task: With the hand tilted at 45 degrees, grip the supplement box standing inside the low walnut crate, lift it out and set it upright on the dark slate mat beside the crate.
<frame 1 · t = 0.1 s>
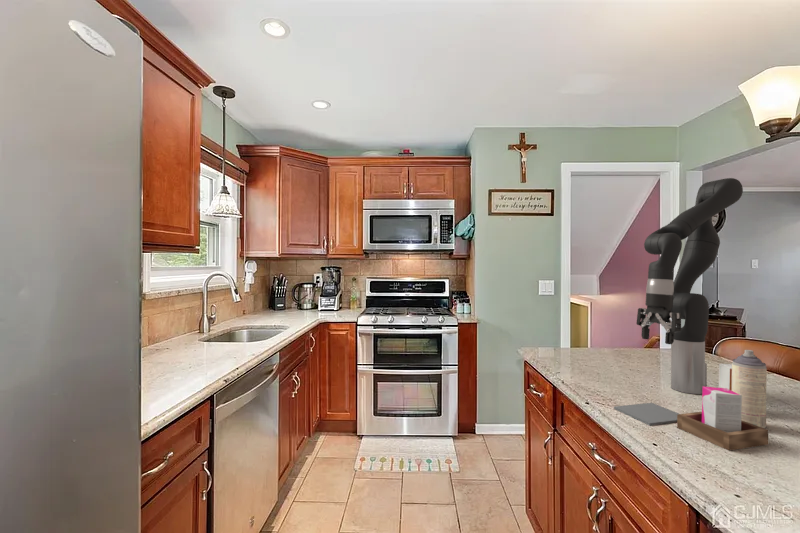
hand: (656, 341, 124), 17 cm above the counter, tool pointing down, fingers open, 8 cm apart
slate mat: (650, 414, 107), on the counter
aerosol can: (748, 425, 100), on the counter
small box: (739, 411, 110), on the counter
supplement box: (720, 436, 93), resting in walnut crate
walnut crate: (720, 435, 93), on the counter
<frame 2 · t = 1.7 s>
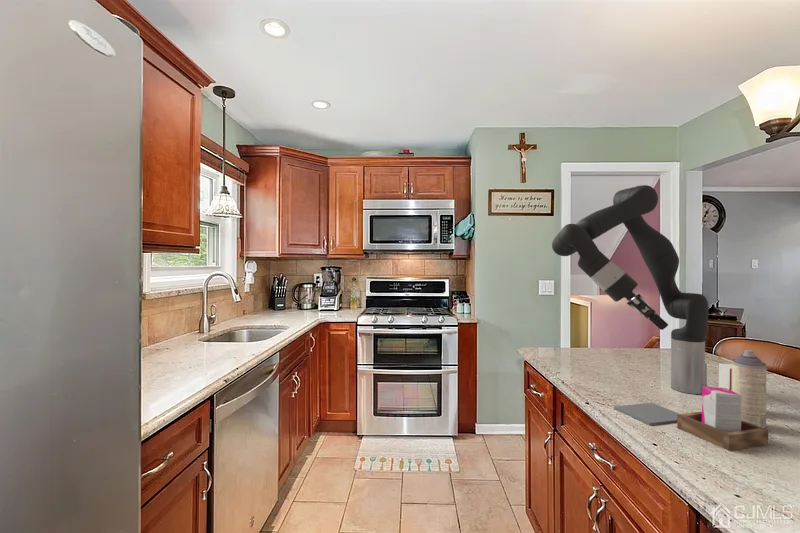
hand: (662, 325, 99), 27 cm above the counter, tool tilted 45°, fingers open, 8 cm apart
nothing on the counter moved.
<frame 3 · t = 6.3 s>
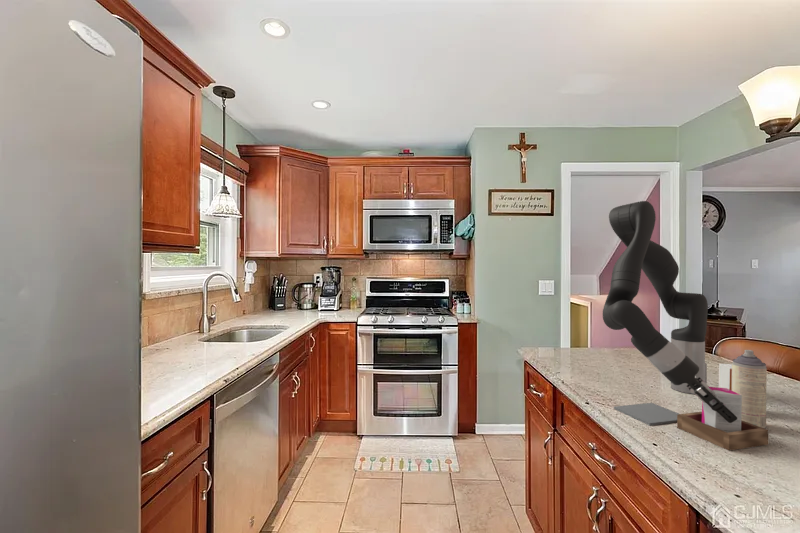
hand: (728, 415, 93), 5 cm above the counter, tool tilted 45°, fingers closed on supplement box, 7 cm apart
supplement box: (720, 436, 93), resting in walnut crate, touching gripper
everything else where it was.
when the fingers open (7 cm above the counter, at t = 12.5 s): supplement box stays where it is, resting on slate mat.
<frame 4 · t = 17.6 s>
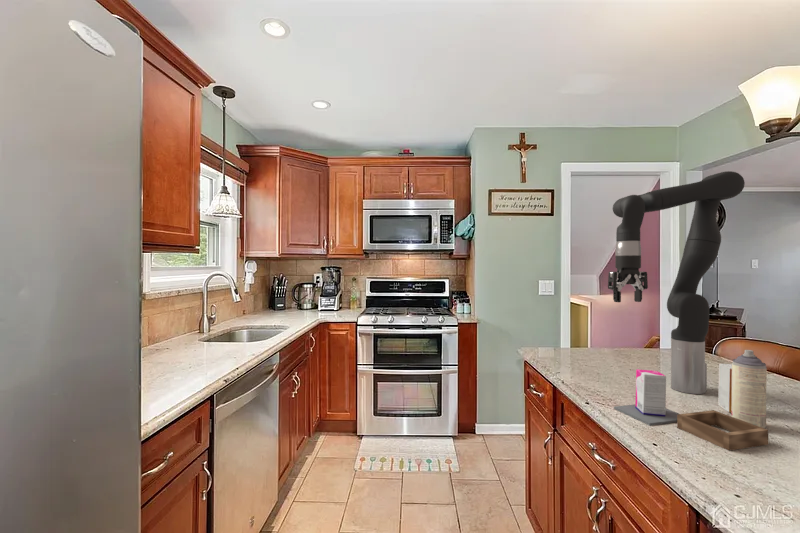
hand: (627, 302, 128), 30 cm above the counter, tool pointing down, fingers open, 8 cm apart
supplement box: (650, 412, 107), resting on slate mat
everything else where it was.
at the end: supplement box inside the target area on the slate mat (0.2 cm from its centre), point 0.4 cm above the slate mat's base; supplement box tilted 0°; the gripper is holding nothing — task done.
